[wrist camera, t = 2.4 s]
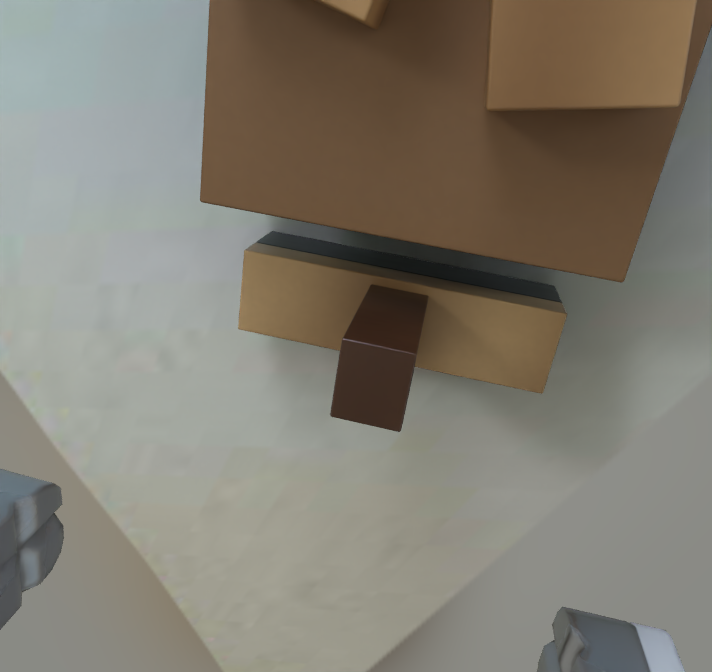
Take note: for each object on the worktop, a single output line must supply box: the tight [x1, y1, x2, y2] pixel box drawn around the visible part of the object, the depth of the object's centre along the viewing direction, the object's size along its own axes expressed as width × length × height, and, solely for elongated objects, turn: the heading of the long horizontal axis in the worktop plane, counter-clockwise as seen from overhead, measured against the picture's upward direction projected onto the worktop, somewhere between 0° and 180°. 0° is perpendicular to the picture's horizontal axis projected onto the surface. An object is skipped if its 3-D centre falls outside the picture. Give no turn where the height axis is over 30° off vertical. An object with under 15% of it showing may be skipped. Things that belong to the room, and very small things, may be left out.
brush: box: [238, 231, 567, 432], centre depth 20 cm, size 11×3×8 cm, turn 81°
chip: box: [484, 0, 697, 111], centre depth 13 cm, size 4×4×2 cm
